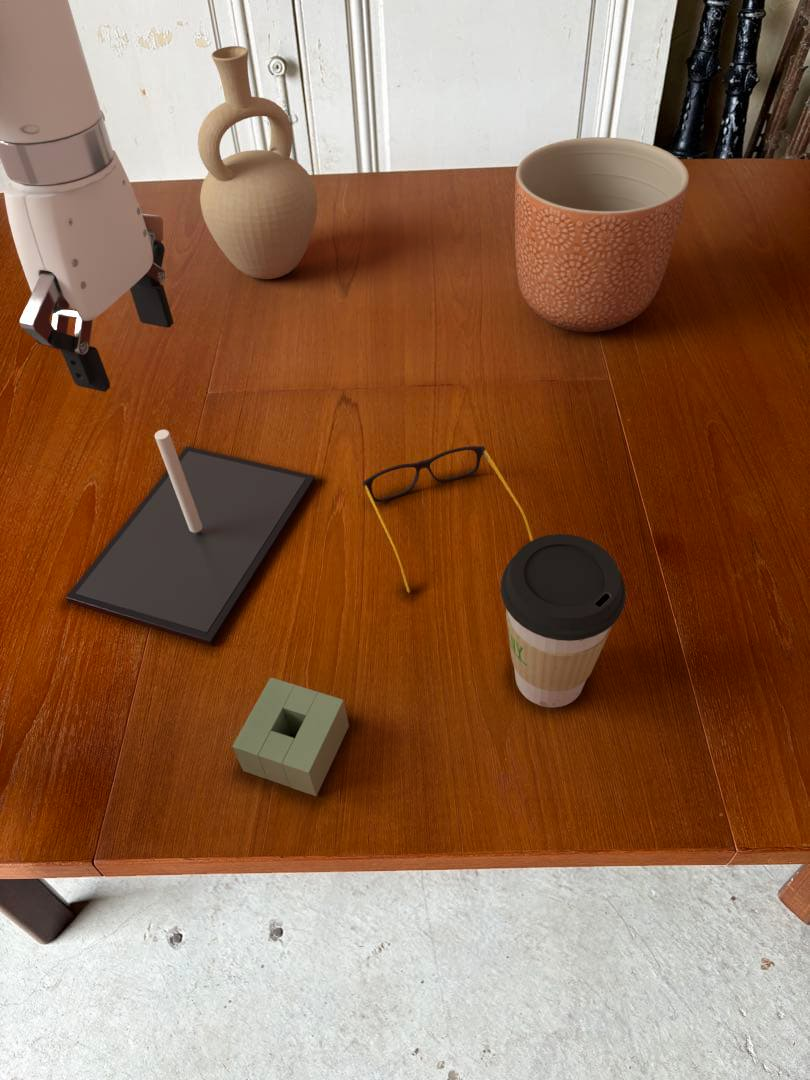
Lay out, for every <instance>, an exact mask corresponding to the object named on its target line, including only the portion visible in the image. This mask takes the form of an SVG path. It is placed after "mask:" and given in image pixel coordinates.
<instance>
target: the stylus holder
mask: <svg viewBox="0 0 810 1080" xmlns="http://www.w3.org/2000/svg"><path fill="white" fill-rule="evenodd" d="M349 727H350V724H349V719H348V714H347V709H346V704H345V701H344V699H342V698H340V697H336V696H333V695H330V694H326V693H323V692H319V691H315V690H313V689H310V688H306V687H303V686H300V685H297V684H294V683H290V682H287V681H284V680H281V679H278V678H274V677H269V679H268V680H267V682H266V685H265V686H264V688H263V690H262V692H261V693H260V695H259V697H258V699H257V700H256V703H255V705H253V707H252V710H251V712H250V713H249V715H248V717H247V719H246V720H245V722H244V724H243V725H242V728H241V729H240V731H239V733H238V735H237V737H236V738H235V740H234V742H233V744H232V746H231V747H232V750H233V751H234V754H235V756H236V759H237V760H238V763H239V765H240V767H241V769H242V772H245V773H247V774H251V775H253V776H257V777H259V778H263V779H265V780H268V781H271V782H273V783H277V784H280V785H283V786H285V787H287V788H291V789H294V790H296V791H299V792H302V793H305V794H307V795H311V796H314V797H317V796H318V794H319V792H320V790H321V787H322V785H323V783H324V781H325V778H326V777H327V774H328V772H329V770H330V769H331V766H332V764H333V761H334V759H335V757H336V755H337V753H338V750H339V749H340V746H341V744H342V742H343V740H344V738H345V736H346V734H347V731H348V729H349ZM291 734H292V735H295V737H293V736H291Z"/></svg>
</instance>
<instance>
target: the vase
mask: <svg viewBox="0 0 810 1080" xmlns="http://www.w3.org/2000/svg"><path fill="white" fill-rule="evenodd" d="M210 57H211V59H212V61H213V62H214V65H215V66H216V67H215V68H216V70H217V72H218V75H219V79H220V82H221V85H222V88H223V93H224V98H225V102H223V103H221V104H219V105H217V106H216V107H215V108H213V109H211V111H210V112H209V113H208V114H206V116H205V117H204V119H203V121H202V123H201V125H200V127H199V130H198V134H197V147H198V148H197V149H198V154H199V157H200V159H201V162H202V164H203V166H204V167H205V169H206V170H207V171H208V173H207V174H206V176H205V178H204V179H203V182H202V184H201V190H200V193H199V194H200V195H199V199H200V202H199V204H200V208H201V214H202V217H203V220H204V222H205V224H206V227H207V230H208V231H209V232H210V234H211V237H212V238H213V240H214V242H216V244H217V246H218V247H219V250H221V251H222V253H223V255H224V256H225V257H226V258H227V259H228V260H229V262H230V263H231V264H232V265H234V267H235V268H236V269H238V270H239V271H240V272H242V273H243V274H244V275H246V276H248V277H251V278H255V279H259V280H272V279H277V278H281V277H283V276H285V275H287V274H289V273H290V272H292V271H293V270H294V269H296V267H297V266H298V265H299V263H300V262H301V260H302V258H303V256H304V255H305V252H306V251H307V249H308V246H309V244H310V241H311V238H312V235H313V232H314V228H315V224H316V220H317V213H318V197H317V190H316V186H315V183H314V181H313V179H312V177H311V176H310V173H308V171H307V170H306V169H305V168H304V167H303V166H302V165H301V164H300V163H299V162H298V161H296V160H295V159H293V158H292V157H291V153H292V149H293V129H292V124H291V121H290V118H289V116H288V114H287V112H286V111H284V109H283V108H282V107H281V106H280V105H279V104H278V103H276V102H274V101H272V100H271V99H268V98H265V97H259V96H252V91H251V85H250V77H249V68H248V67H249V64H248V61H249V59H248V58H249V50H248V48H246V47H244V46H239V45H229V46H224V47H221V48H218V49H216V50H214V51H213V52H212V53H211V56H210ZM255 117H266V118H267V120H268V123H269V126H270V141H269V150H267V149H265V150H264V149H253V150H252V149H251V150H245V151H240V152H235V153H234V154H231V155H229V156H227V157H225V158H222V156H221V149H220V146H221V142H222V139H223V137H224V135H225V134H226V133H227V131H228V130H229V129H230V128H232V127H233V126H234V125H236V124H238V123H239V122H241V121H244V120H247V119H250V118H255Z"/></svg>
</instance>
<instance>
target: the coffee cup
mask: <svg viewBox="0 0 810 1080" xmlns="http://www.w3.org/2000/svg"><path fill="white" fill-rule="evenodd" d="M499 590H500V596H501V600H502V603H503V605H504V607H505V616H506V625H507V633H508V640H509V648H510V657H511V661H512V662H511V663H512V665H513V669H514V678H515V682H516V686H517V688H518V690H519V691H520V693H521V694H522V695H523V697H525V698H526V699H527V700H528V701H530V702H532V703H533V704H535V705H537V706H540V707H545V708H553V709H554V708H560V707H564V706H567V705H569V704H571V703H573V702H574V701H576V699H577V698H578V697H579V696H580V695H581V693H582V690H583V689H584V686H585V683H587V682H586V681H587V680H588V678H589V677H590V676H591V674H592V672H593V670H594V668H595V666H596V663H597V661H598V659H599V657H600V654H601V652H602V650H603V648H604V645H605V644H606V641H607V639H608V637H609V635H610V633H611V630H612V627H613V626H614V625H615V623H616V622H617V621H618V619H620V617H621V615H622V613H623V612H624V610H625V606H626V605H625V604H626V599H627V594H626V584H625V581H624V577H623V574H622V573H621V570H620V569H619V568H618V564H617V562H616V561H615V560H614V558H613V556H612V555H611V554H610V553H609V552H608V551H607V550H606V549H605V548H604V547H602V546H600V545H599V544H598V543H596V542H594V541H592V540H590V539H588V538H585V537H582V536H578V535H573V534H564V533H563V534H562V533H556V534H547V535H544V536H543V535H542V536H540V537H537V538H534V539H533V540H532V541H530V540H529V542H527V543H526V544H524V545H523V546H522V547H521V548H520V549H519V550H518V551H517V552H516V553H515V555H513V557H511V559H509V561H508V563H507V565H506V567H505V568H504V570H503V573H502V577H501V580H500V589H499Z"/></svg>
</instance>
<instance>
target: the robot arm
mask: <svg viewBox="0 0 810 1080" xmlns="http://www.w3.org/2000/svg"><path fill="white" fill-rule="evenodd" d="M90 73H91V72H90V69H89V67H88V64H87V59H86V57H85V53H84V49H83V46H82V42H81V40H80V35H79V33H78V29H77V26H76V22H75V18H74V16H73V12H72V9H71V6H70V2H69V0H0V162H1V164H2V167H3V170H4V172H5V173H6V177H7V179H8V182H9V183H8V184H7V185H6V186H4V188H3V196H4V203H5V207H6V214H7V219H8V223H9V227H10V230H11V235H12V239H13V242H14V245H15V249H16V252H17V255H18V258H19V261H20V264H21V267H22V270H23V273H24V275H25V279H26V281H27V284H28V287H29V289H30V292H31V295H30V297H29V299H28V301H27V303H26V305H25V308H24V310H23V312H22V314H21V317H20V318H19V325H20V328H21V329H22V330H23V331H25V333H27V334H28V335H29V336H30V337H32V338H33V339H35V340H36V342H37V344H39V345H41V346H45V347H48V348H51V349H54V350H58V351H60V352H61V354H62V356H63V359H64V361H65V363H66V366H67V368H68V370H69V374H70V376H71V378H72V381H73V383H74V384H75V385H76V386H77V387H80V388H85V389H89V390H95V391H99V392H102V393H106V392H107V391H108V390H109V389H110V388H111V382H110V379H109V377H108V374H107V371H106V369H105V366H104V364H103V361H102V358H101V356H100V355H101V354H100V353H99V351H98V349H97V347H96V346H91V345H90V343H91V335H92V328H93V320H94V319H97V318H98V317H99V316H101V315H102V314H103V313H104V312H105V311H107V310H108V309H109V308H110V307H112V305H113V304H114V303H116V302H117V301H118V300H119V299H120V298H122V296H124V295H125V294H126V293H127V292H128V291H130V293H131V297H132V300H133V303H134V306H135V309H136V313H137V316H138V318H139V321H140V322H141V323H142V324H146V325H152V326H157V327H162V328H171V327H172V326H173V324H174V323H175V322H174V319H173V315H172V312H171V308H170V305H169V301H168V297H167V293H166V291H165V288H164V287H165V286H164V284H162V283H164V281H165V280H166V270H165V269H163V268H162V267H163V263H164V262H163V261H164V258H165V257H164V256H165V251H166V250H165V249H166V248H165V244H164V243H163V242H162V241H164V219H163V217H162V216H161V215H156V214H155V215H154V214H149V213H142V210H141V208H140V205H139V202H138V199H137V197H136V194H135V192H134V189H133V186H132V185H131V182H130V179H129V176H128V175H127V173H126V170H125V168H124V166H123V164H122V162H121V160H120V158H119V156H118V154H117V153H116V151H115V150H114V149H113V147H112V143H111V140H110V137H109V133H108V129H107V127H106V122H105V120H106V119H105V114H104V112H103V111H102V110H101V107H100V103H99V99H98V96H97V93H96V90H95V87H94V82H93V80H92V76H91V74H90ZM69 307H71V309H70V308H69ZM51 315H52V318H51ZM50 318H51V319H50ZM70 319H74V320H75V328H74V335H72V334H68V330H69V329H68V328H69V323H70V322H69V321H70Z"/></svg>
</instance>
